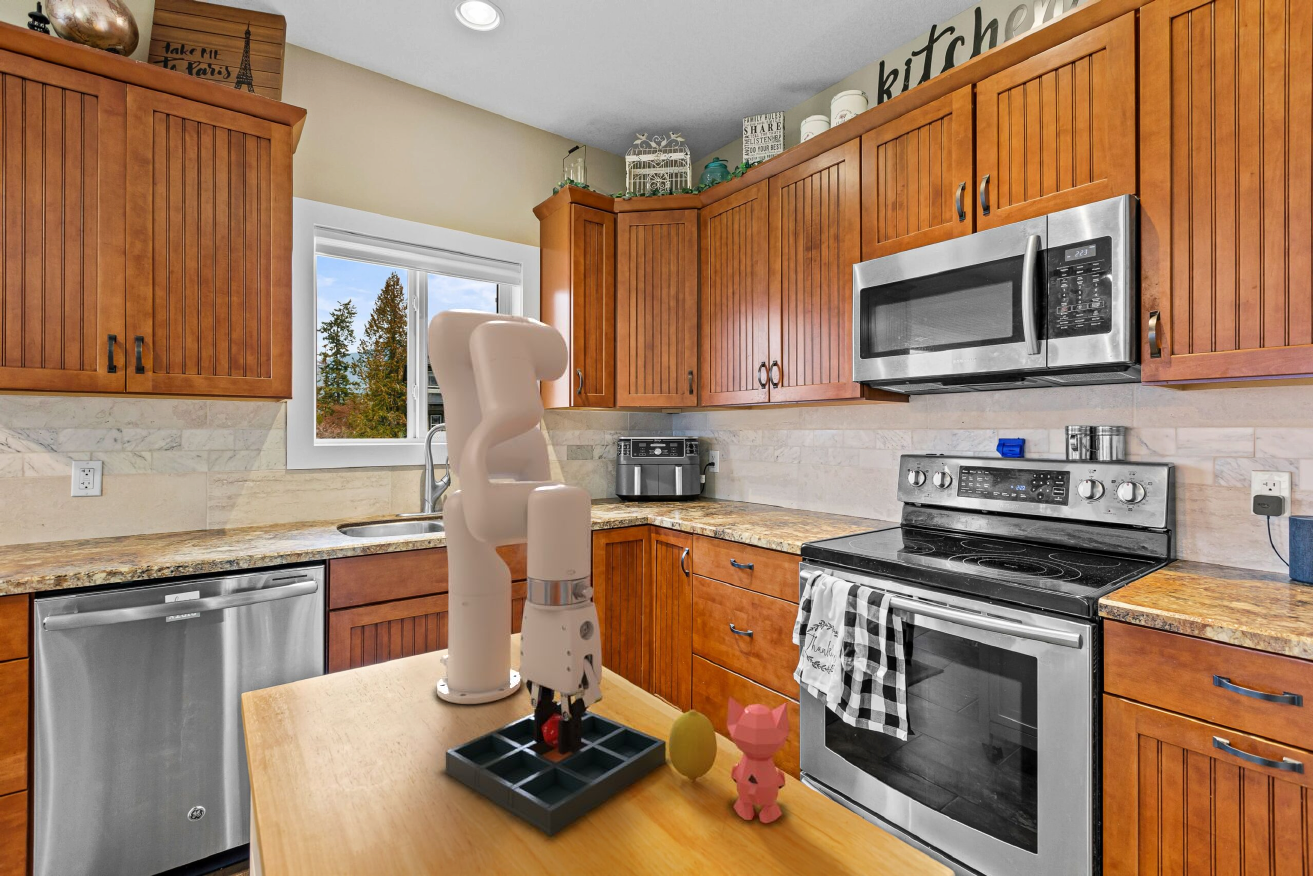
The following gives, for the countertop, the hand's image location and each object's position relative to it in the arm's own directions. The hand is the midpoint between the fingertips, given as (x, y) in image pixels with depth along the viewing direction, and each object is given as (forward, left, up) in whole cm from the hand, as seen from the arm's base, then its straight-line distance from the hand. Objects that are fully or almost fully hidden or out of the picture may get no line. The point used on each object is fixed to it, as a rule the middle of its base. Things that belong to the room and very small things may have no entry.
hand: (557, 742), depth 73 cm
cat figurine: (+23, +7, -3) cm, 24 cm away
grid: (0, 0, -3) cm, 3 cm away
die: (0, 0, 0) cm, 0 cm away
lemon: (+14, +8, -3) cm, 17 cm away
